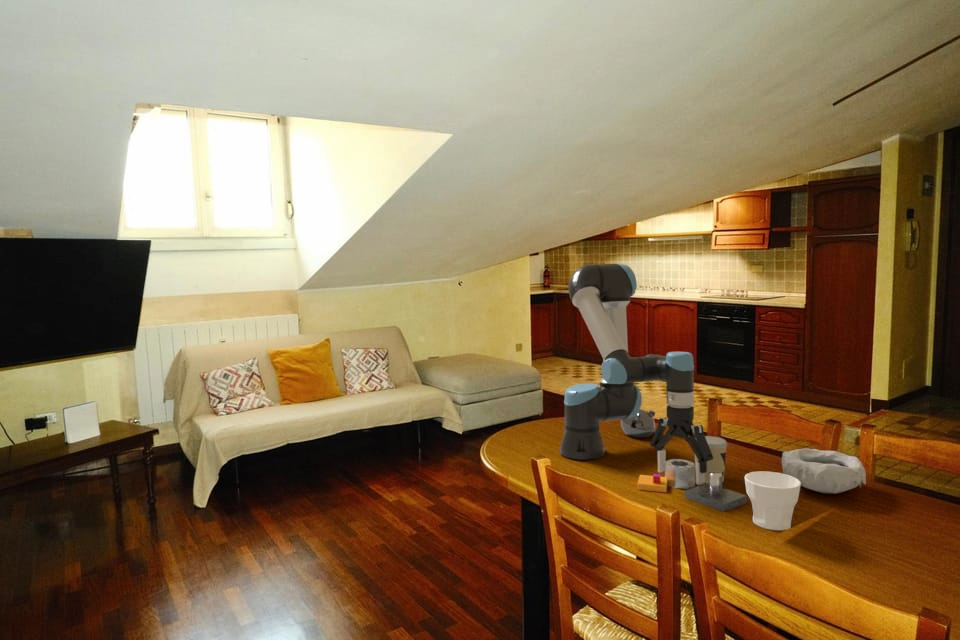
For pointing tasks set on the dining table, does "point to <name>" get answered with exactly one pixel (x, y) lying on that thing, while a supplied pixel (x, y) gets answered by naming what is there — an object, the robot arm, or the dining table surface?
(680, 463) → the block
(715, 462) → the coffee cup
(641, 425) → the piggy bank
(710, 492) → the shaft block
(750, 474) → the cup
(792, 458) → the bowl
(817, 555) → the dining table surface
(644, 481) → the push button box
